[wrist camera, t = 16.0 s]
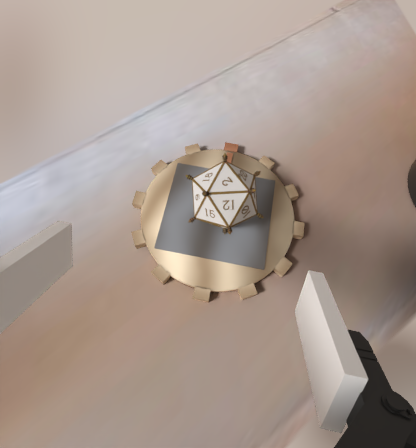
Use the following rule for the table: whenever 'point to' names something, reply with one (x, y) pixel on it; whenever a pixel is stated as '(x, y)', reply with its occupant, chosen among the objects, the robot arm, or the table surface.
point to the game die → (224, 195)
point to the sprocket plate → (215, 227)
